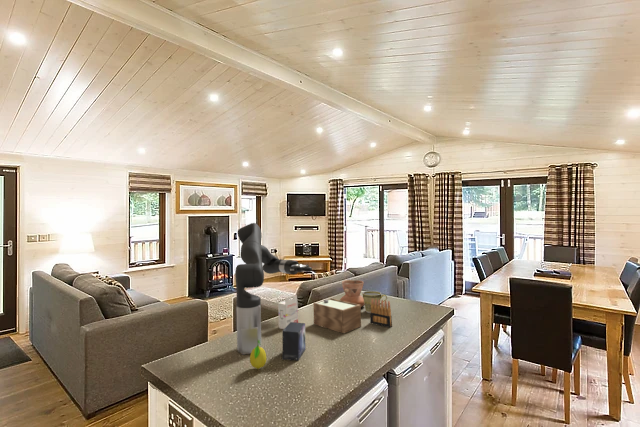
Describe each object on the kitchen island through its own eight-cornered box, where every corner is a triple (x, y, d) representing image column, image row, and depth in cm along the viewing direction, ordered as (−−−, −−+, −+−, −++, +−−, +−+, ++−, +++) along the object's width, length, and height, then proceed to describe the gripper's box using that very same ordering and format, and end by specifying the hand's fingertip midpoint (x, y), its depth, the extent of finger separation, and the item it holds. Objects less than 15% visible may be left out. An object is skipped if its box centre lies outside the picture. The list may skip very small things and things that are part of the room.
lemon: (260, 363, 118) (259, 334, 118) (271, 367, 114) (271, 338, 114) (244, 370, 112) (244, 340, 113) (256, 375, 109) (255, 344, 109)
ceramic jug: (357, 312, 177) (357, 285, 178) (334, 308, 185) (334, 282, 185) (371, 304, 193) (371, 280, 193) (348, 301, 200) (349, 277, 201)
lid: (358, 309, 154) (358, 303, 154) (343, 314, 147) (343, 308, 147) (329, 302, 167) (329, 297, 167) (314, 306, 160) (314, 301, 160)
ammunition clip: (392, 326, 154) (391, 300, 154) (390, 327, 152) (389, 301, 152) (372, 322, 160) (371, 297, 161) (370, 323, 159) (369, 297, 159)
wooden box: (361, 326, 154) (360, 304, 154) (343, 333, 146) (343, 310, 146) (331, 318, 168) (330, 298, 168) (313, 324, 159) (313, 303, 159)
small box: (299, 361, 119) (298, 331, 119) (281, 360, 120) (281, 330, 120) (306, 349, 129) (306, 322, 129) (290, 348, 130) (289, 321, 130)
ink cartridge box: (290, 323, 161) (290, 292, 161) (298, 325, 158) (297, 294, 158) (278, 328, 154) (277, 296, 154) (286, 330, 151) (285, 297, 151)
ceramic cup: (361, 313, 174) (360, 294, 174) (364, 308, 184) (364, 290, 184) (386, 315, 171) (386, 295, 171) (388, 310, 180) (388, 291, 180)
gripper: (279, 261, 177) (300, 263, 165) (298, 258, 186) (319, 260, 174) (279, 275, 177) (301, 278, 164) (298, 272, 186) (320, 275, 174)
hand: (310, 269), depth 169 cm, fingers closed
